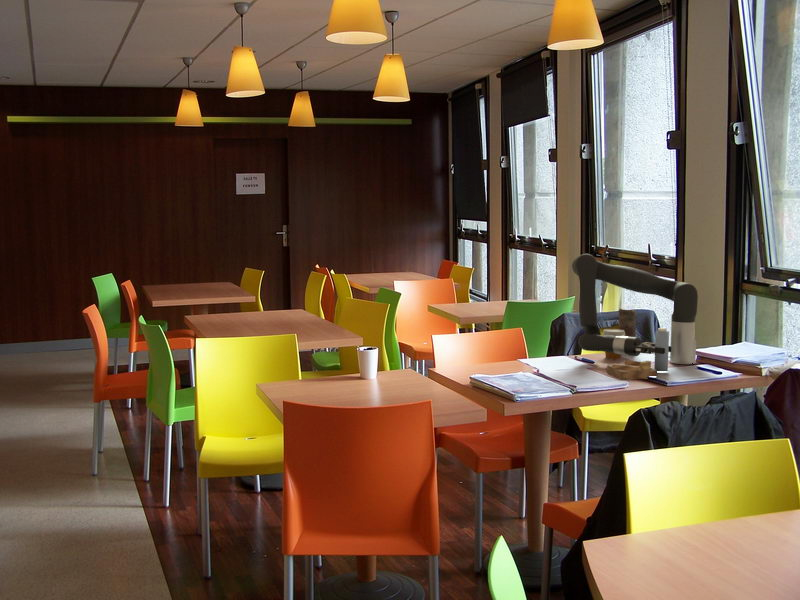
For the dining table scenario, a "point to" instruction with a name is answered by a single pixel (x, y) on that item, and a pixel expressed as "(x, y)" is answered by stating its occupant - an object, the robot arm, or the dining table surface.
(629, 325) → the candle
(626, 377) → the display stand
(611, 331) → the disposable coffee cup
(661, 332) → the flask
